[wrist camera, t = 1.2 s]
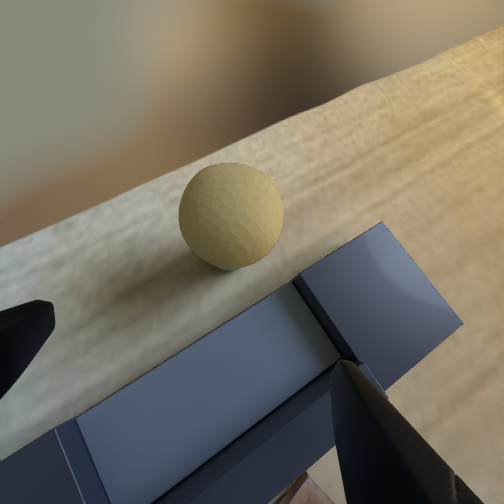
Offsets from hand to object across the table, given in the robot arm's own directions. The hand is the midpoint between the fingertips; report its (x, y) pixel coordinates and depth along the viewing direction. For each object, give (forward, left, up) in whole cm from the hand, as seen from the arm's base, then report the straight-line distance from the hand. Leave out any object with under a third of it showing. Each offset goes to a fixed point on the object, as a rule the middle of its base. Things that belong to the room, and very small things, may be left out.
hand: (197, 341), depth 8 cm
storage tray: (+1, -4, -13) cm, 14 cm away
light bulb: (+5, +6, -13) cm, 15 cm away
